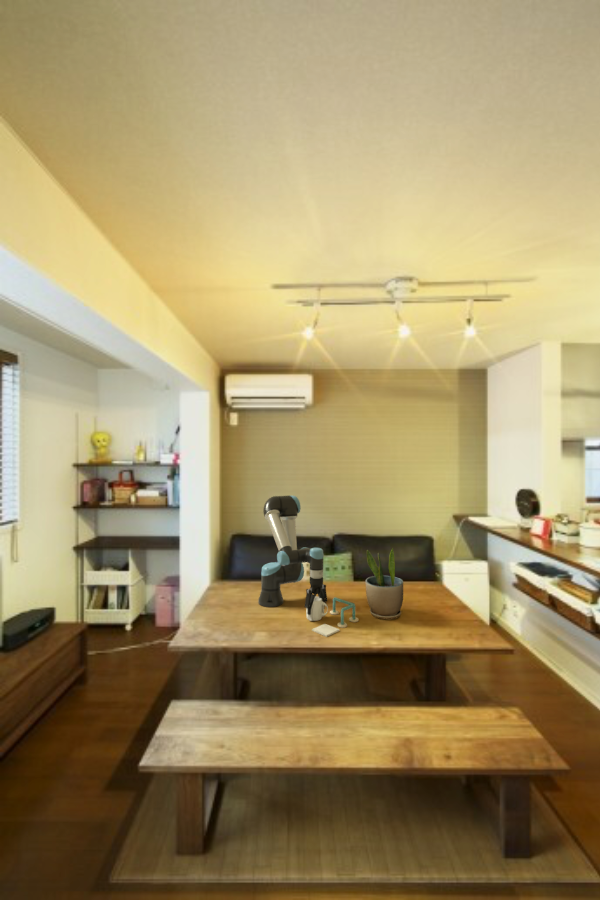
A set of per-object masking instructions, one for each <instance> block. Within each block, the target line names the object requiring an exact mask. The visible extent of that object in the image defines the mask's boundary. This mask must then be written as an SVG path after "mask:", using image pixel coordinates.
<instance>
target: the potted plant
mask: <svg viewBox="0 0 600 900" xmlns="http://www.w3.org/2000/svg"><path fill="white" fill-rule="evenodd" d="M377 558H378V559H377V560H378V562H379V564H377V562H376V560H375V558H374V557H373V555H372V554H371V552H370V551H369V550H368V549H367V550H366V561H367V565H368V567H369V569H370V570H371V572H372V573H373V575H374V576H373V575H372V576H369V577H367V578H366V579H365V593H366V594H365V595H366V600H367V604H368V606H369V608H370V609H369V613H370V614H371V615H372V616H373V617H375V618H377V619H382V620H395V619H397V618H399V617H400V616H401V615H402V610H401V608H402V606H403V602H404V601H403V600H404V580H403V579H402V578H399V577H396V576H395V575H396V573H395V572H396V571H395V570H396V569H395V568H396V567H395V566H396V563H395V553H394V548H392V549H391V550H390V553H389V560H388V572H389V575H384V571H383V565H382V562H381V558H380V554H379V553H377Z"/></svg>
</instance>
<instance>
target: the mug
mask: <svg viewBox="0 0 600 900" xmlns="http://www.w3.org/2000/svg"><path fill="white" fill-rule="evenodd" d="M322 605H325V608H326V612H324V613H322ZM305 609H306V611H305V612H306V616H305V617H306V619H307V620H308V614H307V608H305ZM312 609H313V615H312V621H311V622H316V621H317V622H318V621H320V620H322V618H323V617H325V616H326V615H327V614H328V612H329V607H328V604H327V602H326V603H324V602H323V601H322V598H319V596H318V595H316V596H315V598H314V601H313V605H312Z"/></svg>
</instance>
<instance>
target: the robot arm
mask: <svg viewBox="0 0 600 900" xmlns="http://www.w3.org/2000/svg"><path fill="white" fill-rule="evenodd" d="M300 512H301V502H300V499H299V498H298V496H296V495H275V496H274V495H273V496H271V497H269V498H268V499H267V500H266V501H265V503H264V505H263V512H262V513H263V516H264V519H265V520H266V521H267V523H268V525H269V528H270V531H271V533H272V536H273V539H274V541H275V544H276V547H277V549H278V552H277V554H276V559H277V561H275V562H272V561H271V562H268V563H266V564H263V566H262V567H261V573H260V575H261V578H260V579H261V582H260V583H261V587H260V589H261V590H260V594H259V597H258V599H257V600H258V602H257V603H258V605H259V606H261V607H266V608H274V607H278V606H281V605H283V604H284V598H283V597H284V596H283V594H282V590H281V585H284V584H292V583H294V584H295V583H299V582H301V581H302V580H303V578H304V576H305V567H304V564H303V563H308V564H309V585H310V587H309V588H306V589H305V591H306V593H305V594H306V595H305V601H304V608H305V609H306V608H307V614H308V619H307V620H308V621H310V622H313V621H312V615H313V609H312V605H313V601H314V598H315V596H318V597H319V598H322V601H323V602H324V603H326V604H327V603H328V594H327V585H326V584H324V557H325V556H324V550H323V549H322V548H320V547H312V548H310V547H306V546H305V547H301V548H300V549H298V546H297V545H298V544H297V542H298V541H297V529H296V527H297V526H296V519H297V518H298V514H299V513H300ZM325 608H326V606H325V605H322V613H325Z"/></svg>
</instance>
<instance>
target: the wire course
mask: <svg viewBox="0 0 600 900" xmlns="http://www.w3.org/2000/svg"><path fill="white" fill-rule="evenodd" d="M337 602H339V603H341V604H344V605H347V606H344V607H342V608H341V610H340V613H339V611H338V610H337V607H336V606H337V605H336V604H337ZM350 609H351V610H352V612H351V613H352V616H351V617H349V619H348V621H349V622H351V623H358V622H359V617H356V604H355V602H351V601H349V600H344V599H341V598H339V597H335V596H334V597H333V598H332V609H331V610H330V611H329V614H330V615H332V616H337V615H339V614H340V622H338V623H337V628H338V627H339V629H340V628H343V629H344V628H347V627H348V624H347V623H346V622H345V612H346V611H347V610H350Z"/></svg>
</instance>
